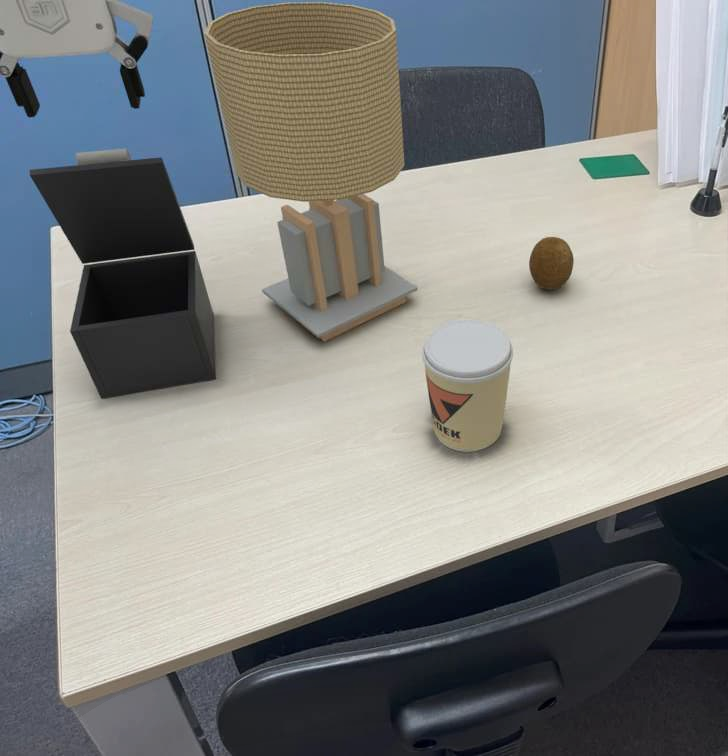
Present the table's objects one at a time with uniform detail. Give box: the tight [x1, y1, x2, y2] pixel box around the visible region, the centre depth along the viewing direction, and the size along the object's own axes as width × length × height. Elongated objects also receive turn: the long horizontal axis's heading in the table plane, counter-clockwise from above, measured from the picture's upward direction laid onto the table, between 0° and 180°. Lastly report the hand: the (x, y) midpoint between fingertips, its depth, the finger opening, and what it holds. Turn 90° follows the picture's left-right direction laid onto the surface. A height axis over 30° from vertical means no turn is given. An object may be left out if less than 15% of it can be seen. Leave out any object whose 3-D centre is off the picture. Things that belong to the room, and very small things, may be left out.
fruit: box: [528, 236, 575, 290], centre depth 100 cm, size 6×6×8 cm
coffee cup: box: [421, 318, 514, 453], centre depth 76 cm, size 9×9×12 cm
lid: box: [29, 147, 195, 265], centre depth 81 cm, size 14×13×5 cm
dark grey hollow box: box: [69, 250, 217, 400], centre depth 85 cm, size 14×13×10 cm
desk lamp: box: [203, 1, 418, 342], centre depth 86 cm, size 20×20×35 cm
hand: (86, 108), depth 73 cm, fingers open, 9 cm apart
